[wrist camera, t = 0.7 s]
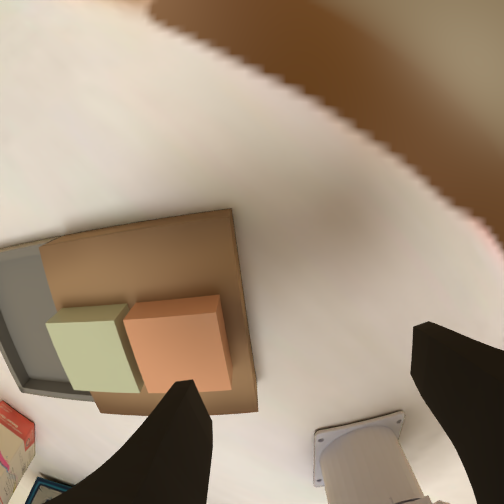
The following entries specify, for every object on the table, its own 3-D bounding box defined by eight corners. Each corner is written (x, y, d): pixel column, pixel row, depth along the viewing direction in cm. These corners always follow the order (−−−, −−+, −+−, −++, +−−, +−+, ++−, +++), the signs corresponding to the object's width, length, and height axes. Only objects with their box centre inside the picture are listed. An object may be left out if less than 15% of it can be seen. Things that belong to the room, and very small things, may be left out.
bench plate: (256, 382, 20) (258, 411, 18) (113, 388, 21) (100, 413, 18) (231, 208, 17) (228, 216, 14) (64, 235, 17) (38, 247, 15)
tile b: (148, 372, 17) (140, 393, 15) (86, 371, 17) (74, 389, 15) (127, 303, 15) (113, 320, 14) (62, 308, 16) (45, 323, 14)
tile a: (232, 367, 17) (231, 390, 15) (156, 371, 17) (148, 393, 15) (219, 294, 15) (215, 312, 13) (135, 302, 15) (122, 320, 14)
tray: (110, 387, 21) (102, 402, 19) (30, 381, 21) (21, 392, 19) (60, 236, 17) (46, 242, 16) (-18, 253, 18) (-32, 259, 16)
